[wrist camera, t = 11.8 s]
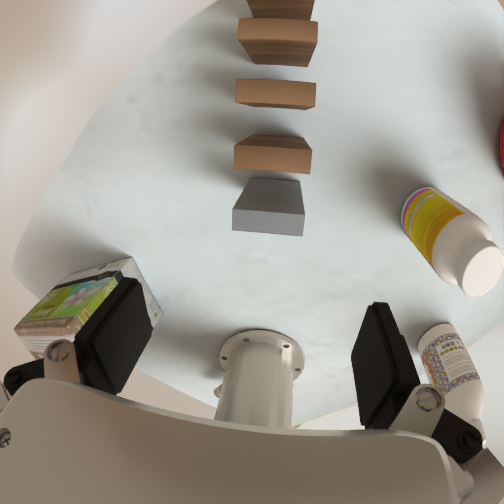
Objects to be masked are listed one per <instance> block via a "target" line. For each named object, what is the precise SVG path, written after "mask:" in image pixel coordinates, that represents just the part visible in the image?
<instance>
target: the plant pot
mask: <svg viewBox="0 0 504 504" xmlns="http://www.w3.org/2000/svg"><path fill="white" fill-rule="evenodd" d="M500 157H501V162H502V167H503V170H504V121H503V124H502V128H501V133H500Z"/></svg>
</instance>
